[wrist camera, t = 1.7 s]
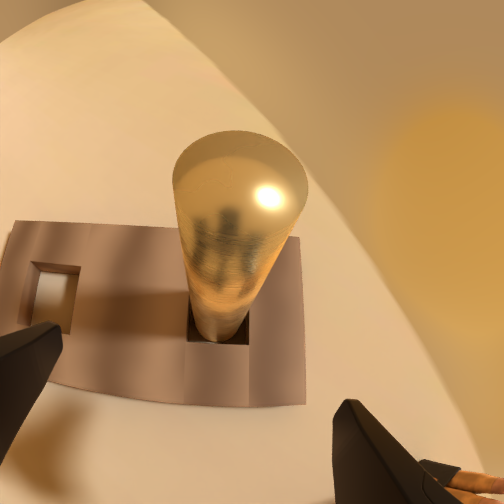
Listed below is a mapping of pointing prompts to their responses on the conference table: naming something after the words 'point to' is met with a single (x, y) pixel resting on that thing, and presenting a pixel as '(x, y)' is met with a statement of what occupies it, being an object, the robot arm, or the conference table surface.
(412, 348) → the conference table surface
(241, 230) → the brass peg
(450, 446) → the conference table surface
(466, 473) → the ammunition clip
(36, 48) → the conference table surface
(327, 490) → the conference table surface
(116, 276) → the block
